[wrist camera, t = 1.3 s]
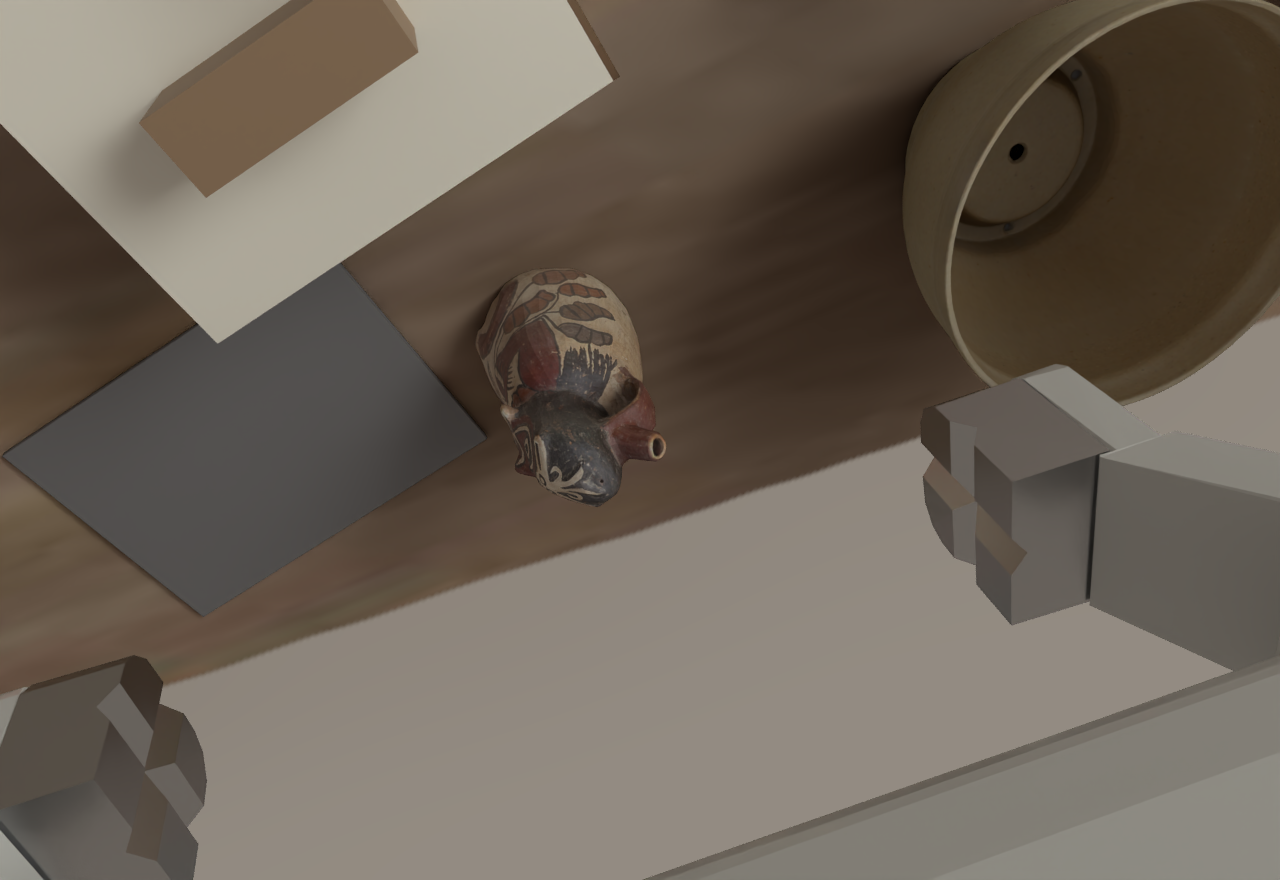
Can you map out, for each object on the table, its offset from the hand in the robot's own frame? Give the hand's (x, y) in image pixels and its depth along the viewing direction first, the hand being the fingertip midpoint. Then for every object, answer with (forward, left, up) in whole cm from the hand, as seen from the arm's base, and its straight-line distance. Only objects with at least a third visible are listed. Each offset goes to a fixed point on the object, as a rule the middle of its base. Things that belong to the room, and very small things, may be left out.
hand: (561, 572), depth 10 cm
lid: (+4, -2, -25) cm, 25 cm away
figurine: (+4, +15, -34) cm, 38 cm away
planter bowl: (-18, +19, -34) cm, 43 cm away
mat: (+18, +11, -34) cm, 40 cm away
